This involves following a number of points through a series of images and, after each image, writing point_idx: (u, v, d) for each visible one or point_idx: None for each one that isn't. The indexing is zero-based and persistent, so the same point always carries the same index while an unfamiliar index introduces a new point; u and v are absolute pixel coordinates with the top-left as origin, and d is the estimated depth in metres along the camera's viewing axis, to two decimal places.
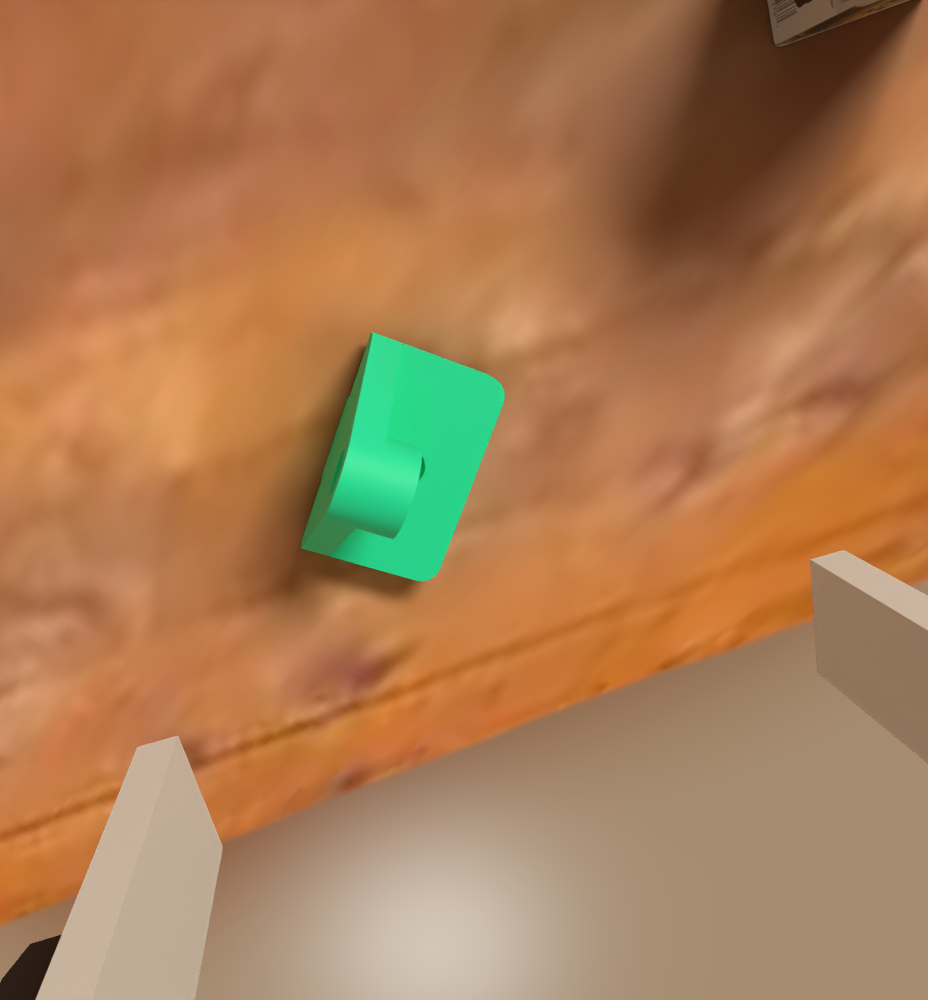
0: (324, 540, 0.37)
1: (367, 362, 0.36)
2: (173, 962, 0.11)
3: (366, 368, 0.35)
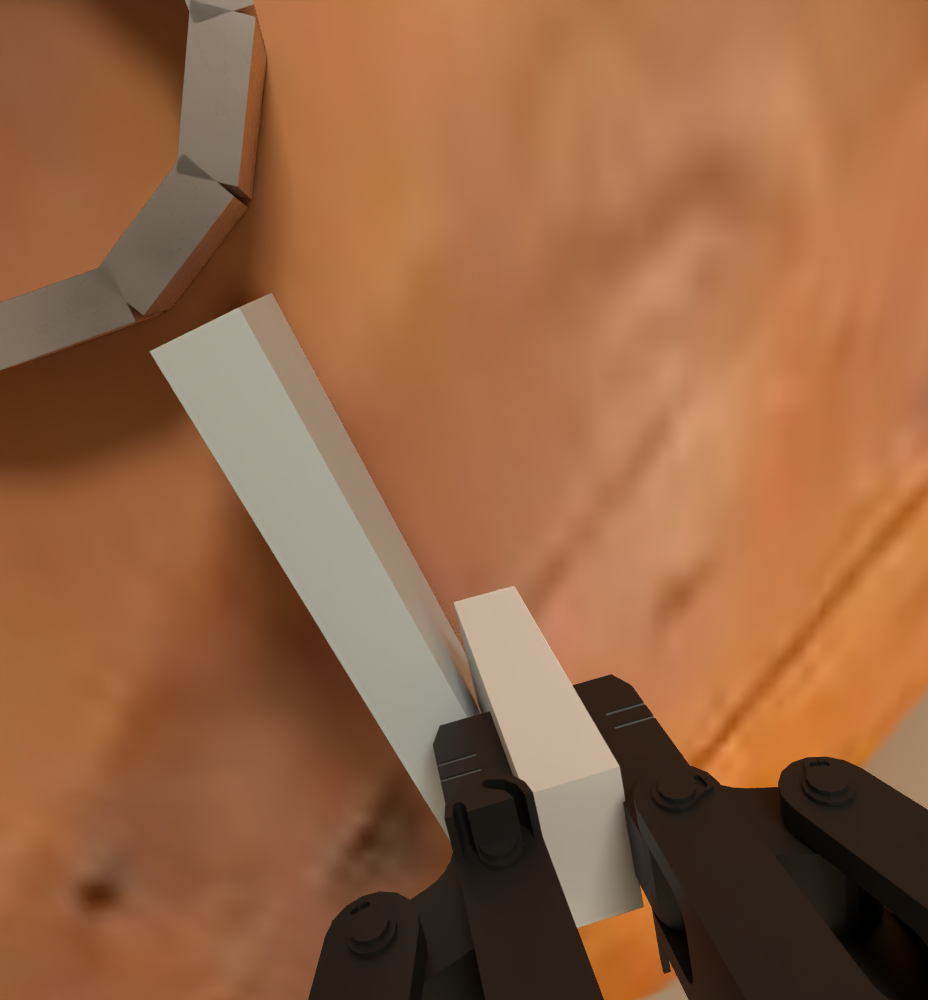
0: None
1: None
2: None
3: None
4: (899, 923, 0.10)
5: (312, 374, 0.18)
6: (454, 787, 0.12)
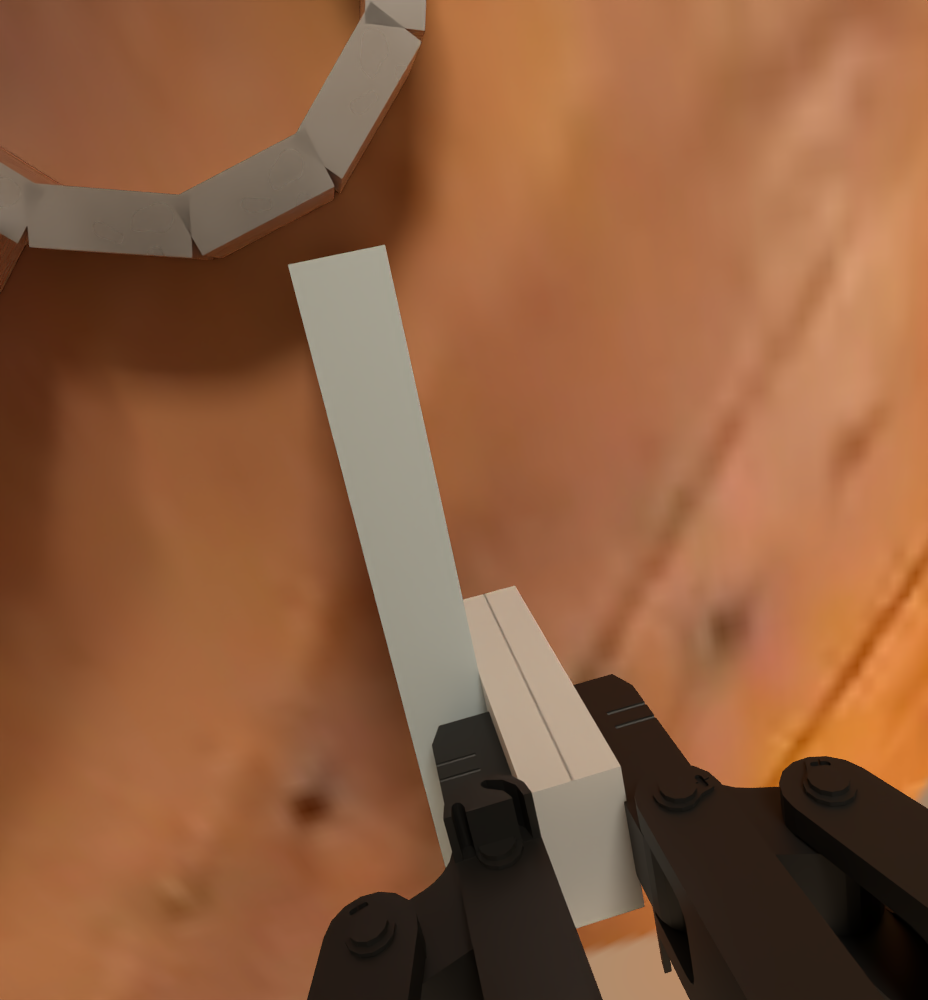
0: None
1: None
2: None
3: None
4: (900, 923, 0.10)
5: None
6: (453, 787, 0.12)
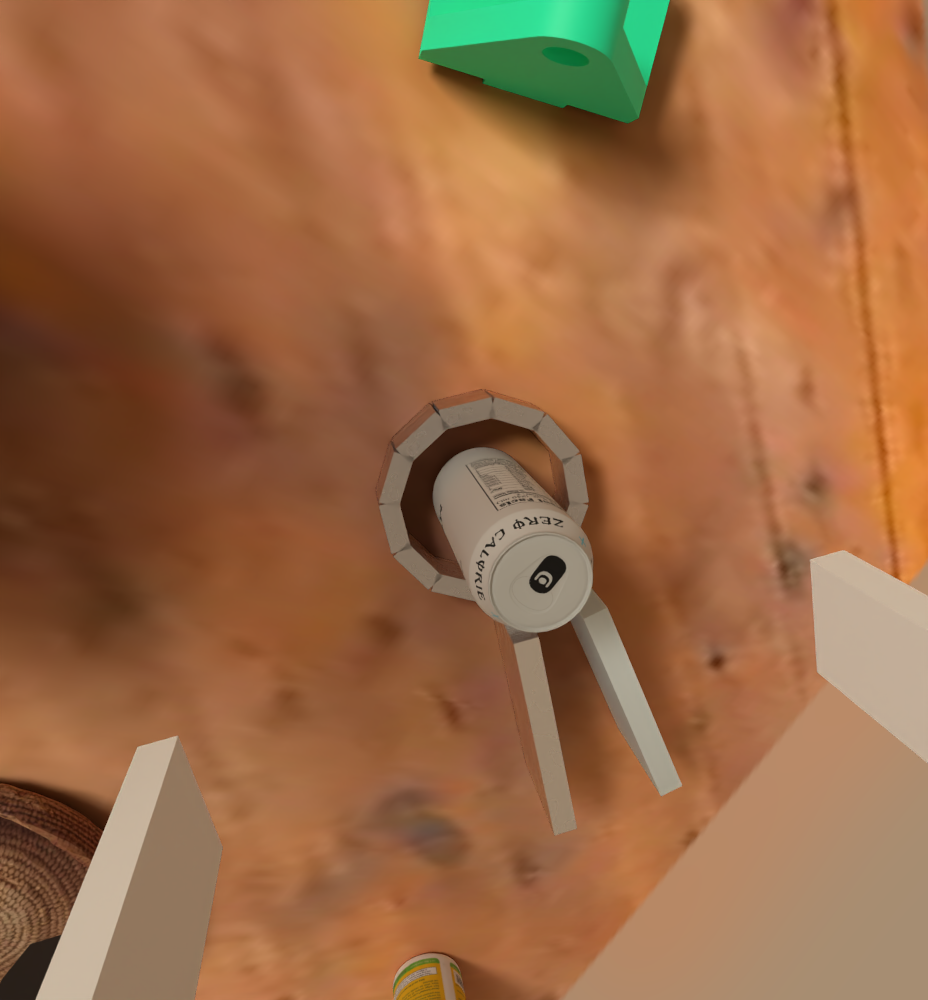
0: (632, 80, 0.37)
1: (451, 46, 0.36)
2: (173, 962, 0.11)
3: (458, 44, 0.35)
4: None
5: None
6: None
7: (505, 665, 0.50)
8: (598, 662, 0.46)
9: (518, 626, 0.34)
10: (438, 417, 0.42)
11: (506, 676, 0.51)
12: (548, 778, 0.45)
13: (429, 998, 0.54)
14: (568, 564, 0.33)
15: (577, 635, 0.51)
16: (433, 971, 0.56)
